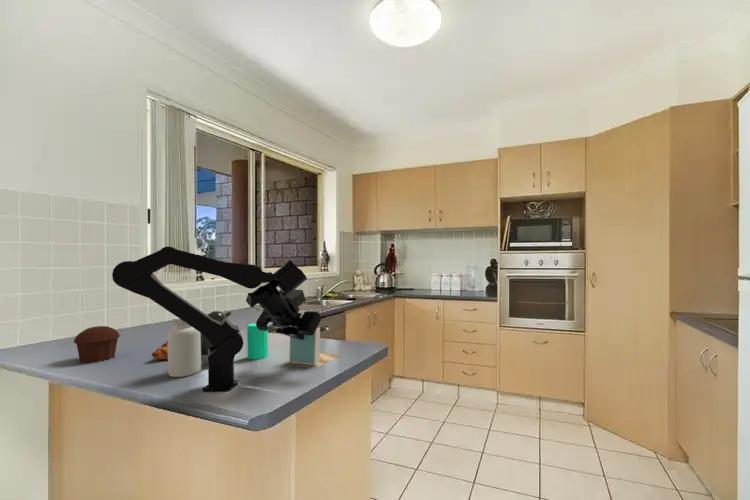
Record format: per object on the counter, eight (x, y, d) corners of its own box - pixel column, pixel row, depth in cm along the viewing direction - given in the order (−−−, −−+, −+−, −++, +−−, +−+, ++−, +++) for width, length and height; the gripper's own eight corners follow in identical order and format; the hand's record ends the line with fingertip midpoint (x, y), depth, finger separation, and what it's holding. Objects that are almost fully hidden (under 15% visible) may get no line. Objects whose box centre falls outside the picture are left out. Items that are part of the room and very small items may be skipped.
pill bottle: (170, 370, 104) (169, 316, 104) (202, 367, 106) (201, 314, 107) (165, 379, 96) (164, 320, 96) (199, 375, 99) (199, 318, 99)
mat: (314, 370, 102) (314, 367, 102) (283, 365, 107) (283, 363, 107) (342, 357, 114) (342, 355, 114) (312, 353, 119) (312, 351, 119)
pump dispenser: (242, 360, 113) (241, 309, 113) (211, 369, 104) (211, 314, 104) (220, 356, 118) (219, 307, 119) (189, 364, 109) (188, 312, 110)
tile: (314, 365, 104) (315, 328, 104) (289, 362, 108) (290, 326, 108) (319, 364, 105) (320, 327, 106) (293, 360, 110) (294, 325, 110)
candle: (271, 356, 117) (270, 317, 118) (263, 361, 111) (263, 320, 112) (252, 356, 118) (252, 317, 118) (244, 361, 112) (243, 320, 112)
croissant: (203, 356, 133) (195, 335, 134) (223, 344, 129) (215, 323, 131) (147, 372, 113) (138, 347, 115) (168, 359, 110) (159, 333, 112)
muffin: (73, 366, 110) (73, 332, 110) (73, 359, 118) (72, 327, 118) (122, 359, 117) (122, 327, 117) (118, 352, 126) (118, 322, 126)
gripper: (316, 280, 97) (341, 317, 107) (262, 279, 106) (289, 313, 115) (297, 315, 90) (325, 351, 100) (241, 312, 99) (272, 345, 108)
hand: (302, 338), depth 106 cm, fingers closed
